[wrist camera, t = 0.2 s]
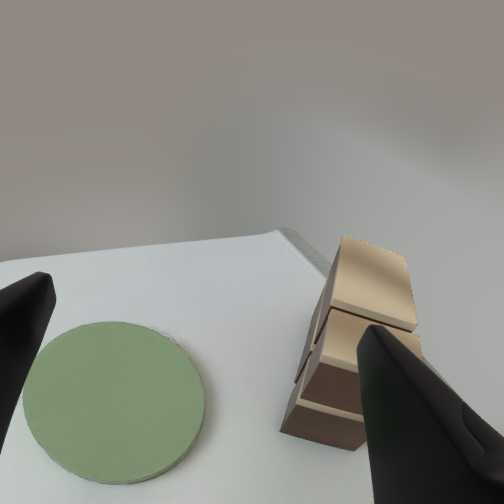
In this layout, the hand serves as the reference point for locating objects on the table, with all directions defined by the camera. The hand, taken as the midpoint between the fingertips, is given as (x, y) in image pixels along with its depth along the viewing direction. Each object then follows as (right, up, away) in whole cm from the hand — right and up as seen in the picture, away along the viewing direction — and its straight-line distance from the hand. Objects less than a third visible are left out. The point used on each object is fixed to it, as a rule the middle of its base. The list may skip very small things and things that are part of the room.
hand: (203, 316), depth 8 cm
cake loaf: (+9, -8, +21) cm, 25 cm away
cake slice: (+7, -12, +14) cm, 20 cm away
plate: (-10, -10, +13) cm, 19 cm away
